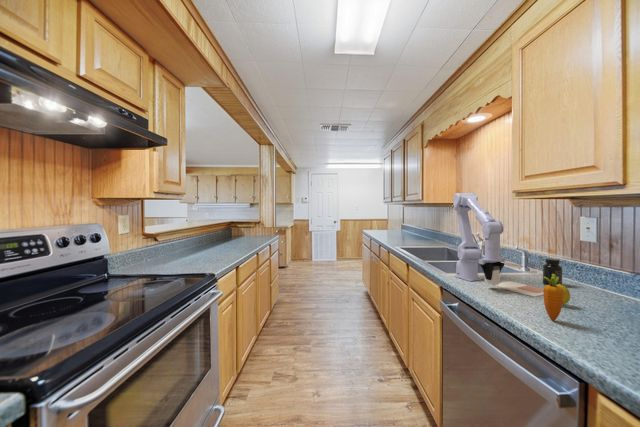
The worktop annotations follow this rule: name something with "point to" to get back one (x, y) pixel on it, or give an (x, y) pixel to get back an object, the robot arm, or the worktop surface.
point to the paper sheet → (521, 288)
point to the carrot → (553, 297)
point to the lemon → (565, 293)
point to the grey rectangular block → (494, 276)
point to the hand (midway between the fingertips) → (491, 278)
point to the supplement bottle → (552, 270)
